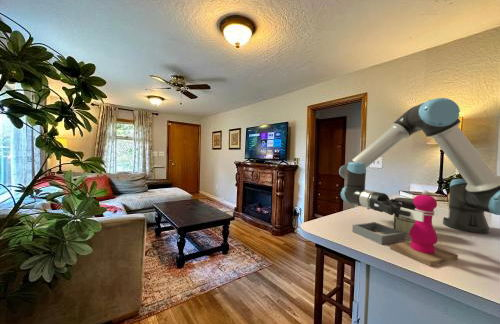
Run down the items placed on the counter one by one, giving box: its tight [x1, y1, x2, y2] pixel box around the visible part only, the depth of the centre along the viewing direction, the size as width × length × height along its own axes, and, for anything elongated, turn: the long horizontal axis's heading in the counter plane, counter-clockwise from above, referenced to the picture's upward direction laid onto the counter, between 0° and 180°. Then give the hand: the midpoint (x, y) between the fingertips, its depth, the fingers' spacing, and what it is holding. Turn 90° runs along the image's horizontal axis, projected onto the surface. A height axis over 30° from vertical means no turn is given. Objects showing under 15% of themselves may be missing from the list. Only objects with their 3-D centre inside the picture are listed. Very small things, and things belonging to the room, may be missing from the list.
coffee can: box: [392, 197, 416, 237], centre depth 88 cm, size 10×10×14 cm
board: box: [389, 240, 459, 268], centre depth 69 cm, size 14×12×2 cm
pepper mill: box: [408, 189, 439, 254], centre depth 68 cm, size 7×7×20 cm
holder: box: [351, 221, 406, 245], centre depth 83 cm, size 13×13×3 cm
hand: (436, 215), depth 65 cm, fingers open, 13 cm apart
